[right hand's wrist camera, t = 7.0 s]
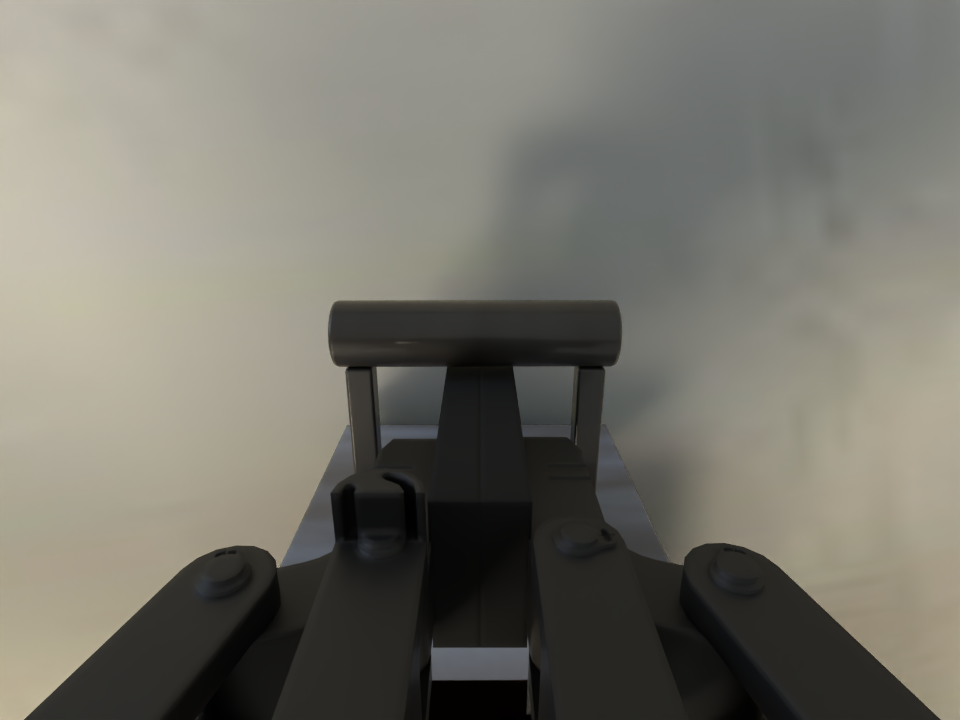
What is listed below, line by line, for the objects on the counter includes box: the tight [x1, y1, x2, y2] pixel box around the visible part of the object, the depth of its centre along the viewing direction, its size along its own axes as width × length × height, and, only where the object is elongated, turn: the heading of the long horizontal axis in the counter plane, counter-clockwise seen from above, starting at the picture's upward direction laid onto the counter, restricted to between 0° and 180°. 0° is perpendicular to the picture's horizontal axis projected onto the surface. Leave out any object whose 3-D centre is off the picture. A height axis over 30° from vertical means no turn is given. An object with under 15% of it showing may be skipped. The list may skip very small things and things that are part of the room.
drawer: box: [280, 300, 670, 720], centre depth 17 cm, size 24×9×9 cm, turn 0°
